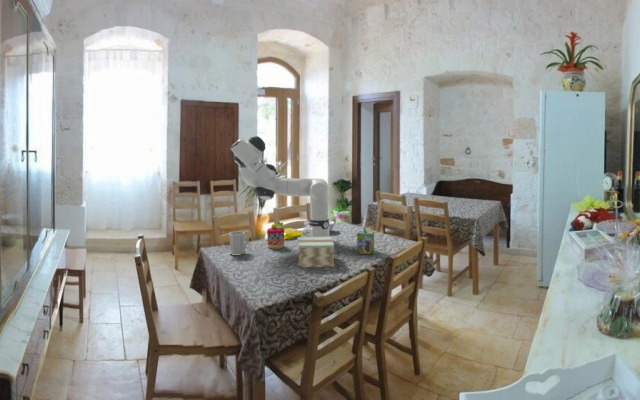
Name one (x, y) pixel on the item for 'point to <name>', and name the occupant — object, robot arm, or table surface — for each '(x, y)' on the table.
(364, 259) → the table surface
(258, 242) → the table surface
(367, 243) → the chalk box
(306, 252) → the birch box
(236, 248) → the cup
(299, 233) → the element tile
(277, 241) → the cake
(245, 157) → the robot arm
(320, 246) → the lid
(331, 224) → the serving bowl
